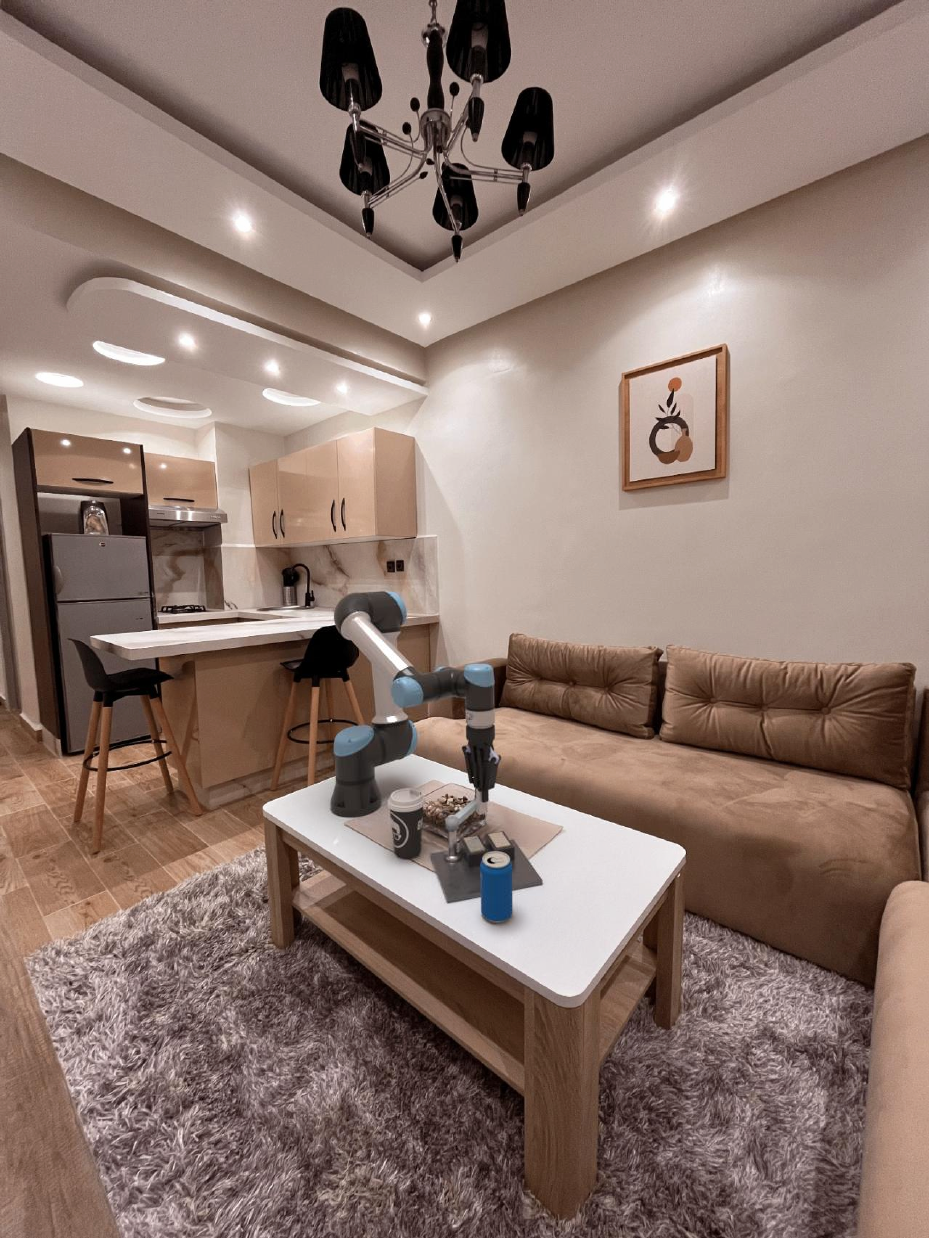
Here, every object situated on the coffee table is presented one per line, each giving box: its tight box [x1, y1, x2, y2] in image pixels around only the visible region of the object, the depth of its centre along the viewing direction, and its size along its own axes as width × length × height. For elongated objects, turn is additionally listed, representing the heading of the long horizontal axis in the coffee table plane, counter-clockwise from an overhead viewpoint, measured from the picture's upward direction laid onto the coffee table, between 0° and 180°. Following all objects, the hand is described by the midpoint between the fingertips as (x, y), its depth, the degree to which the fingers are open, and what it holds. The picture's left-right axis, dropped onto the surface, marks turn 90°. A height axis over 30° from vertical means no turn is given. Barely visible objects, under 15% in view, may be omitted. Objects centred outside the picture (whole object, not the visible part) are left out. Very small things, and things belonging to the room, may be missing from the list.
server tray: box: [429, 830, 543, 904], centre depth 118 cm, size 18×22×8 cm
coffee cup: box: [386, 787, 426, 860], centre depth 125 cm, size 10×10×15 cm
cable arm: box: [445, 797, 477, 831], centre depth 128 cm, size 3×18×2 cm, turn 151°
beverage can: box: [480, 851, 514, 924], centre depth 102 cm, size 6×6×12 cm
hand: (482, 812), depth 131 cm, fingers closed
